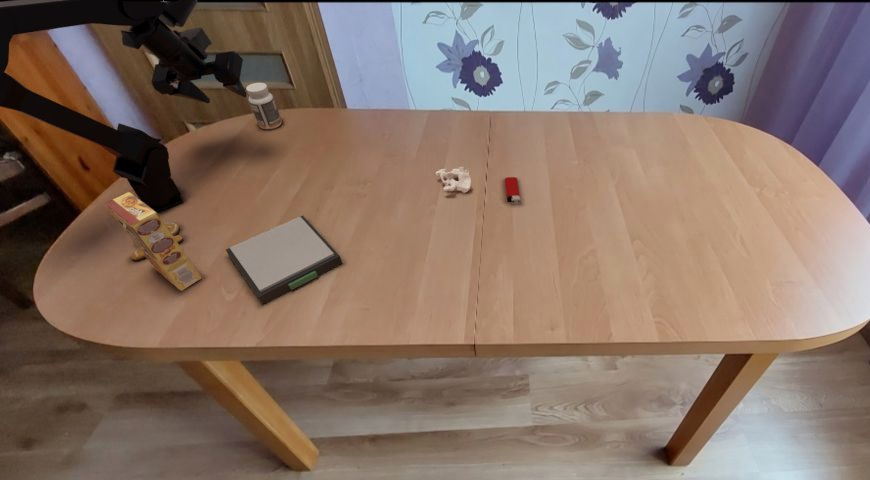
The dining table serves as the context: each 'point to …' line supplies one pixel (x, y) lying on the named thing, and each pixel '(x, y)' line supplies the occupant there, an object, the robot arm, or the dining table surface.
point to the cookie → (174, 230)
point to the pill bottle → (263, 106)
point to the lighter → (512, 190)
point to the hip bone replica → (460, 185)
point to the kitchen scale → (283, 258)
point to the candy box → (153, 239)
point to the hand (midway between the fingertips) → (227, 98)
